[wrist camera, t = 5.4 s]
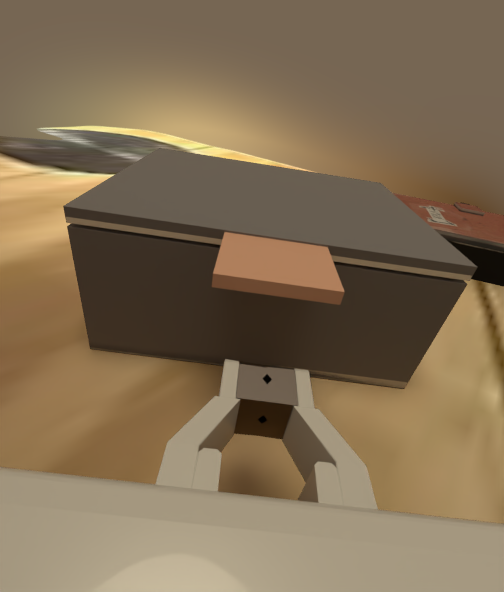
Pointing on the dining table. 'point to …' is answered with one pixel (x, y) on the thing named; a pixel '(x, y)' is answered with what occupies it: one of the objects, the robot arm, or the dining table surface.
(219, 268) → the lid
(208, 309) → the box
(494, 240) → the book
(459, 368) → the dining table surface
